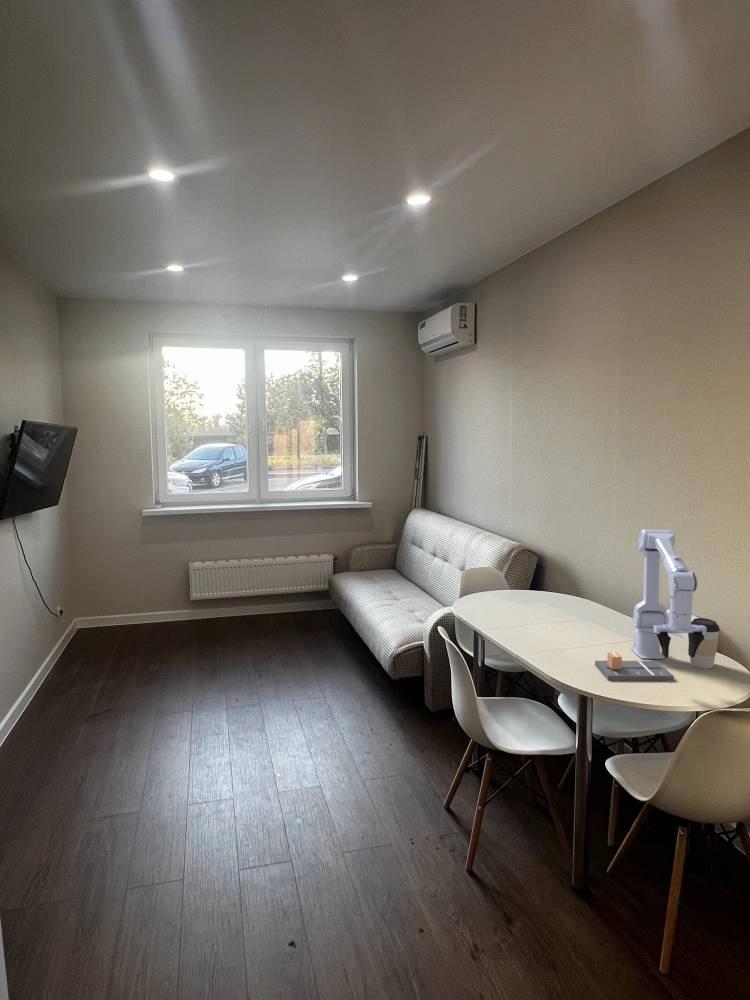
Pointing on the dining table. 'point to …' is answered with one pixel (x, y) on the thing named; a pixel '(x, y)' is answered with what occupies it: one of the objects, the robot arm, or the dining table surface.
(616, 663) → the fader tab
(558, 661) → the dining table surface
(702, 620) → the coffee cup
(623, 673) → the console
